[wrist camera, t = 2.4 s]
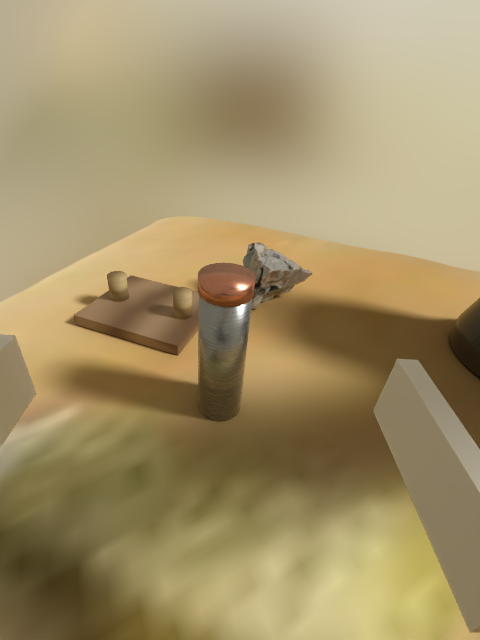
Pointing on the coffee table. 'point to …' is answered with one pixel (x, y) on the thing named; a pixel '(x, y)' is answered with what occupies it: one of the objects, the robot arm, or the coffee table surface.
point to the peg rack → (144, 312)
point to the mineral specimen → (271, 273)
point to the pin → (223, 337)
